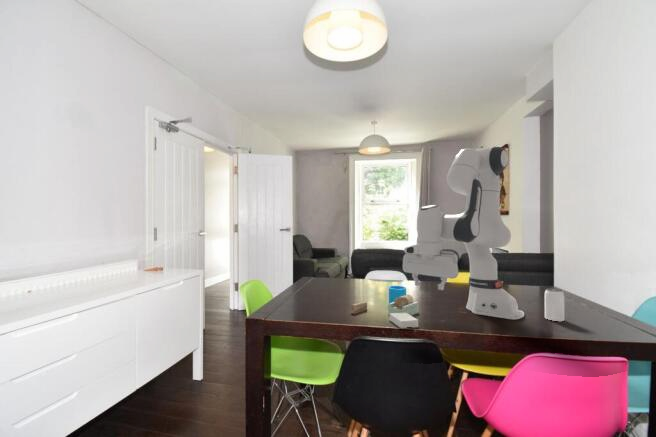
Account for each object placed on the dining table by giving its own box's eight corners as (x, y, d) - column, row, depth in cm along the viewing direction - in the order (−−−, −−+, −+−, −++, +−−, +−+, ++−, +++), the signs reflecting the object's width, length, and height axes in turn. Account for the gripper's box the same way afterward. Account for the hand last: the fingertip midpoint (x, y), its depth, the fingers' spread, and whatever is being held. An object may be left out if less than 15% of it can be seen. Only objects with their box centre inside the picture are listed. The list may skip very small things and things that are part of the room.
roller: (413, 305, 134) (413, 295, 134) (403, 309, 128) (403, 298, 128) (404, 303, 137) (404, 293, 137) (394, 306, 132) (394, 296, 132)
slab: (418, 327, 116) (418, 319, 116) (401, 329, 114) (401, 321, 114) (405, 319, 125) (405, 312, 125) (389, 321, 124) (389, 313, 124)
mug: (408, 307, 143) (408, 289, 143) (390, 307, 143) (390, 289, 143) (402, 300, 155) (402, 284, 155) (385, 300, 155) (385, 284, 155)
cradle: (418, 312, 134) (418, 302, 134) (404, 318, 126) (404, 307, 126) (402, 308, 140) (402, 298, 140) (388, 314, 132) (388, 303, 132)
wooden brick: (366, 310, 138) (367, 302, 138) (355, 313, 132) (355, 305, 132) (363, 309, 139) (363, 301, 139) (351, 312, 133) (351, 304, 133)
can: (559, 323, 120) (558, 292, 121) (541, 318, 126) (541, 289, 126) (567, 320, 123) (567, 290, 124) (550, 316, 129) (549, 287, 129)
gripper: (461, 251, 107) (461, 291, 107) (409, 247, 122) (409, 282, 122) (453, 252, 103) (453, 293, 103) (400, 248, 118) (400, 284, 117)
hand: (429, 287), depth 112 cm, fingers open, 8 cm apart
